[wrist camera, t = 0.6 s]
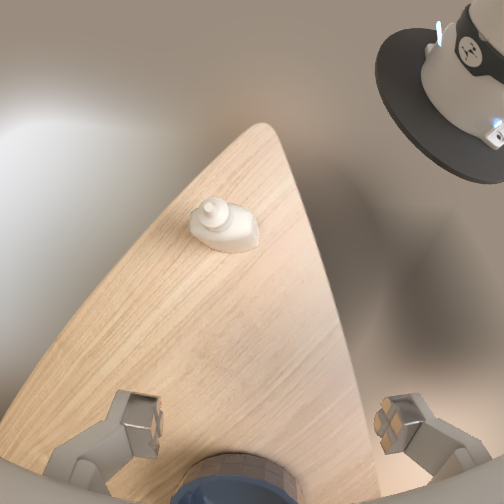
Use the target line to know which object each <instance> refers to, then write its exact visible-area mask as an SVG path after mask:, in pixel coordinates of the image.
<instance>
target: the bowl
mask: <svg viewBox="0 0 504 504" xmlns="http://www.w3.org/2000/svg"><path fill="white" fill-rule="evenodd" d="M170 504H303V497H302V491H301V489H300V487H299V485H298V483H297V481H296V479H295V478H294V477H293V476H292V475H291V474H290V473H289V472H288V471H287V470H285V469H284V468H283V467H281V466H279V465H277V464H275V463H273V462H271V461H269V460H267V459H265V458H260V457H256V456H252V455H248V454H222V455H218V456H214V457H210V458H207V459H204V460H203V461H201V462H199V463H198V464H196V465H194V466H193V467H191V469H190V470H189V471H188V472H187V474H186V475H185V476H184V477H183V479H182V481H181V483H180V484H179V486H178V488H177V489H176V491H175V493H174V494H173V496H172V498H171V502H170Z"/></svg>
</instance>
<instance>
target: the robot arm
mask: <svg viewBox="0 0 504 504" xmlns="http://www.w3.org/2000/svg"><path fill="white" fill-rule="evenodd" d="M437 35H438V40H437V42H436V43H435V44H428V45H427V46H426V47H425V56H426V60H425V62H424V64H423V66H422V69H421V81H422V85H423V87H424V90H425V92H426V94H427V96H428V98H429V99H430V101H431V102H432V104H433V105H434V106H435V108H436V109H437V110H438V111H439V112H440V113H441V114H442V115H443V116H444V117H445V118H446V119H447V120H448V121H449V122H451V123H452V124H453V125H454V126H456V127H457V128H459V129H461V130H462V131H464V132H466V133H469V134H471V135H473V136H476V137H478V138H479V139H481V140H482V141H483V142H484V143H485V144H486V145H488V146H489V147H490V148H492V149H493V150H498V149H499V148H500V147H501V146H502V145H503V144H504V0H473V2H472V4H469V5H467V6H466V7H465V9H464V10H463V11H462V12H461V14H460V16H459V19H458V21H457V23H453V22H452V23H450V24H449V25H448V26H447V27H446V29H445V30H444V32H443V33H442V34H441V26H440V22H439V21H438V23H437ZM161 404H162V403H161V397H160V396H155V395H149V394H143V393H137V392H130V391H124V390H118V391H117V392H116V395H115V397H114V399H113V402H112V404H111V407H110V409H109V412H108V414H107V417H106V419H105V421H102V420H101V421H99V422H98V423H96V424H94V425H93V426H91V427H90V428H88V429H86V430H85V431H83V432H82V433H80V434H78V435H77V436H75V437H74V438H72V439H70V440H69V441H67V442H65V443H64V444H62V445H60V446H59V447H57V448H55V449H54V450H53V452H52V455H51V457H50V459H49V461H48V463H47V466H46V468H45V470H44V472H43V475H40V474H38V473H35V472H33V471H30V470H28V469H26V468H23V467H21V466H19V465H16V464H14V463H12V462H10V461H7V460H5V459H3V458H1V457H0V504H145V503H139V502H134V501H129V500H124V499H120V498H115V497H112V496H111V494H110V492H109V490H108V488H107V486H106V485H105V483H106V482H107V481H108V480H109V479H110V478H111V477H113V476H114V475H115V474H116V473H117V472H118V471H119V470H120V469H121V468H122V467H124V466H125V465H126V464H127V463H128V462H129V461H130V460H131V459H132V458H133V456H135V457H142V458H149V459H157V456H158V451H159V446H160V445H159V439H158V438H160V437H161V436H162V431H163V412H162V411H161V410H160V408H161ZM381 406H382V408H381V409H380V410H379V411H378V412H377V413H376V416H375V418H374V429H375V432H376V434H377V435H378V436H380V437H381V438H382V439H381V442H380V443H381V446H382V448H383V450H384V452H385V455H387V454H393V453H399V452H404V453H405V454H406V455H407V456H409V457H410V458H411V459H412V460H413V461H415V462H416V463H417V464H418V465H420V466H421V467H422V468H423V469H425V470H426V471H427V472H428V473H430V474H431V475H432V476H433V478H432V480H431V481H430V482H429V483H428V484H427V485H426V486H423V487H420V488H416V489H413V490H409V491H406V492H402V493H398V494H394V495H391V496H386V497H382V498H377V499H373V500H368V501H363V502H358V503H352V504H504V454H503V455H501V456H499V457H497V458H495V459H492V457H491V456H490V454H489V453H488V451H487V450H486V448H485V447H484V445H483V444H482V442H481V441H480V440H479V439H477V438H475V437H473V436H471V435H469V434H468V433H466V432H464V431H462V430H460V429H458V428H456V427H455V426H453V425H451V424H449V423H447V422H446V421H443V420H442V419H440V418H436V417H435V416H434V414H433V413H432V411H431V409H430V408H429V406H428V405H427V403H426V402H425V400H424V399H423V397H422V396H421V394H419V393H411V394H407V395H398V396H391V397H385V398H384V399H383V400H382V402H381Z"/></svg>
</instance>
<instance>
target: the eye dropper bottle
mask: <svg viewBox="0 0 504 504" xmlns="http://www.w3.org/2000/svg"><path fill="white" fill-rule="evenodd" d="M189 229H190V233H191V234H192V235H193V236H194V237H196V238H197V239H198V240H200V241H201V242H202V243H204V244H205V245H207V246H208V247H210V248H212V249H214V250H217V251H220V252H225V253H241V252H246V251H249V250H252V249H254V248H256V247H257V246H258V244H259V229H258V226H257V222H256V219H255V216H254V214H253V213H252V212H251V211H250V210H249V209H247V208H245V207H243V206H240V205H237V204H233V203H226V202H225V201H224V200H223V199H220V198H217V197H210V198H207V199H206V200H204V201H203V202H202V203H201V205H200V206H199V208H196V209H195V210H193V211H192V212H191V215H190V223H189Z"/></svg>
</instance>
